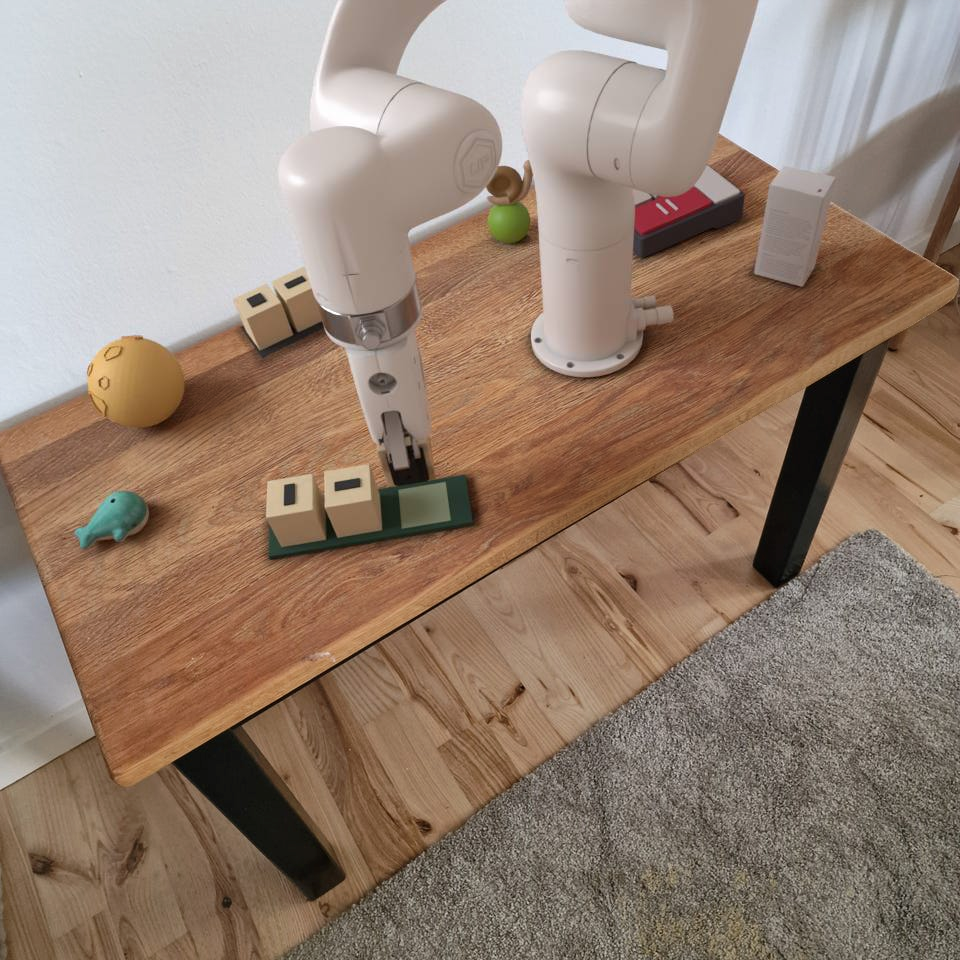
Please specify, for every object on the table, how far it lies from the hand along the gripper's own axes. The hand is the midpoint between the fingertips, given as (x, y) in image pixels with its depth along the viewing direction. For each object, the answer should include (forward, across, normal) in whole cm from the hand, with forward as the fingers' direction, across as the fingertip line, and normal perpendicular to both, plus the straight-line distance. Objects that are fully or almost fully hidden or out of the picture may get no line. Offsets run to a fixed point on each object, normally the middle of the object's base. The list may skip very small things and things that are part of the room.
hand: (409, 458), depth 75 cm
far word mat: (+8, +33, +9) cm, 35 cm away
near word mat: (+8, 0, +5) cm, 10 cm away
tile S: (+1, 0, 0) cm, 1 cm away
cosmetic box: (+8, +26, -46) cm, 53 cm away
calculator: (+8, +40, -36) cm, 54 cm away
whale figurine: (+9, +4, +31) cm, 33 cm away
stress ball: (+8, +20, +29) cm, 37 cm away
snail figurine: (+8, +41, -16) cm, 45 cm away
